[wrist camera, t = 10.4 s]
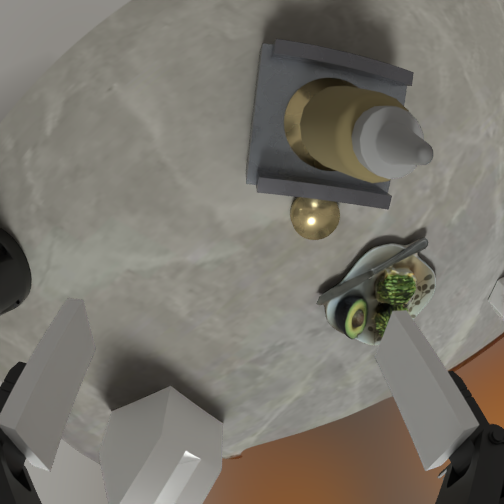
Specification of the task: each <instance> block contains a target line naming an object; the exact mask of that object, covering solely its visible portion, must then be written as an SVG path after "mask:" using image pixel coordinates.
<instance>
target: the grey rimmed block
mask: <svg viewBox="0 0 504 504" xmlns="http://www.w3.org/2000/svg"><path fill="white" fill-rule="evenodd" d="M412 80H413V72H411V71H408V70H405V69H402V68H399V67H396V66H393V65H390V64H387V63H384V62H380V61H377V60H374V59H370V58H367V57H363V56H359V55H355V54H351V53H347V52H343V51H339V50H335V49H330V48H326V47H321V46H316V45H311V44H305V43H299V42H294V41H287V40H281V39H276V40H275V42H274V44H273V45H272V44H264V43H263V45H262V47H261V50H260V57H259V65H258V73H257V81H256V90H255V98H254V106H253V115H252V123H251V132H250V141H249V150H248V159H247V168H246V184H254V185H256V188H257V192H258V193H268V194H277V195H286V196H295V197H303V198H311V199H319V200H327V201H334V202H342V203H349V204H356V205H363V206H369V207H376V208H382V209H389V206H390V202H391V197H392V196H391V195H390V194H388V189H389V185H390V181H386V182H378V183H370V182H367V181H364V180H360V179H357V178H354V177H352V176H349V175H347V174H344V173H342V172H339V171H336V170H334V169H331V168H328V167H326V166H323V165H322V164H321V163H320V162H318V161H317V160H316V159H314V158H313V157H312V156H311V155H310V154H309V152H308V150H307V149H306V147H305V145H304V143H303V142H302V137H301V130H300V121H301V117H302V113H303V109H304V107H305V106H306V104H307V103H308V102H309V100H310V99H311V98H312V97H313V95H314V94H316V93H318V92H320V91H322V90H324V89H325V88H327V87H333V86H350V87H356V88H361V89H366V90H372V91H376V92H381V93H384V94H386V95H388V96H391V97H393V98H396V99H397V100H398V101H399V102H400V103H401V104H402V105H403V106H404V103H405V96H406V88H407V86H412Z"/></svg>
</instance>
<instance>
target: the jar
mask: <svg viewBox="0 0 504 504" xmlns="http://www.w3.org/2000/svg"><path fill="white" fill-rule="evenodd" d="M488 301H489V303H490V304H491V306H492V308H493V309H494V311H495V312H496V313H497V314H498V315H499V316H500V318H501V319H502V320H503V321H504V277H502V278H501V279H499V280H497V283H496V285H495V287H494V289H493V291H492V293H491V295H490V297H489V299H488Z"/></svg>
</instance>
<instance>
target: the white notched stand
mask: <svg viewBox="0 0 504 504" xmlns="http://www.w3.org/2000/svg"><path fill="white" fill-rule="evenodd" d="M222 442H223V423H222V422H220V421H219V420H217V419H216V418H214V417H213V416H211V415H210V414H209V413H207V412H206V411H204V410H203V409H201V408H200V407H199V406H197V405H196V404H194V403H193V402H192V401H190V400H189V399H188V398H186V397H185V396H184V395H182V394H181V393H180V392H178V391H177V390H176V389H174V388H173V387H172V386H169V387H167V388H165V389H162V390H160V391H158V392H156V393H153V394H151V395H149V396H147V397H144V398H142V399H140V400H137V401H135V402H133V403H130V404H128V405H126V406H123V407H121V408H118V409H116V410H113V411H111V414H110V418H109V421H108V424H107V427H106V431H105V434H104V437H103V441H102V444H101V448H100V451H99V457H100V463H101V469H102V475H103V480H104V485H105V490H106V495H107V499H108V504H202V503H203V502H204V500H205V498H206V497H207V495H208V493H209V491H210V490H211V488H212V486H213V484H214V483H215V481H216V479H217V477H218V475H219V474H220V472H221V470H222Z"/></svg>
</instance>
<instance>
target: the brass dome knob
mask: <svg viewBox="0 0 504 504" xmlns="http://www.w3.org/2000/svg"><path fill="white" fill-rule="evenodd" d="M290 217H291V221H292V224H293V226H294V228H295V230H296V231H297V233H298V234H300V235H301V236H302V237H304V238H306V239H310V240H319V239H322V238H325V237H327V236H329V235H330V234H331V233H332V232H333V231H334V230H335V229H336V227H337V225H338V223H339V219H340V211H339V208H338V205H337V204H336V202H334V201H327V200H319V199H311V198H303V197H297V198H296V199H295V200H294V202H293V203H292V206H291V209H290Z"/></svg>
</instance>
